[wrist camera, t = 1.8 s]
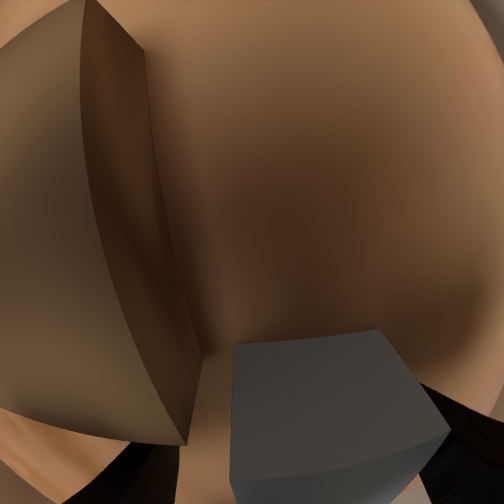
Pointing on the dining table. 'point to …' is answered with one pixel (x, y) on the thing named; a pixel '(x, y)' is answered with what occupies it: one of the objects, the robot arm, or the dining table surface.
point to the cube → (328, 421)
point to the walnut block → (88, 239)
